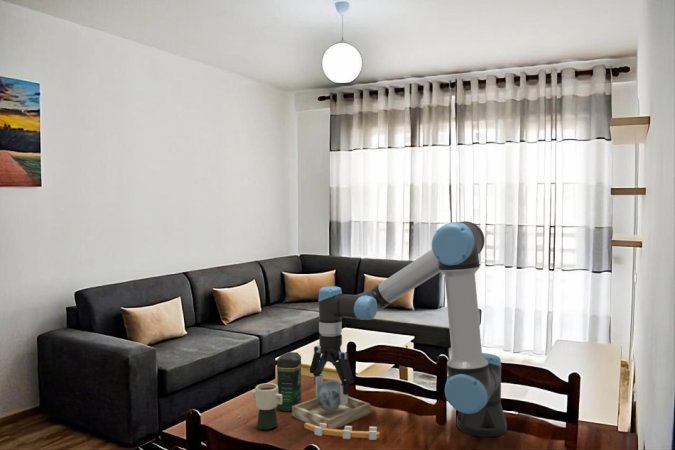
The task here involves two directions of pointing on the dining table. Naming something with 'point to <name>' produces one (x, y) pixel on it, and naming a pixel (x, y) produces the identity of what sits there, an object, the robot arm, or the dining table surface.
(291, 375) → the coffee jar
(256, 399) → the character mug
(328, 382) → the grey patterned ovoid
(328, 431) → the cable
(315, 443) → the dining table surface
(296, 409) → the wooden tray
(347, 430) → the clips
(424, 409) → the dining table surface
